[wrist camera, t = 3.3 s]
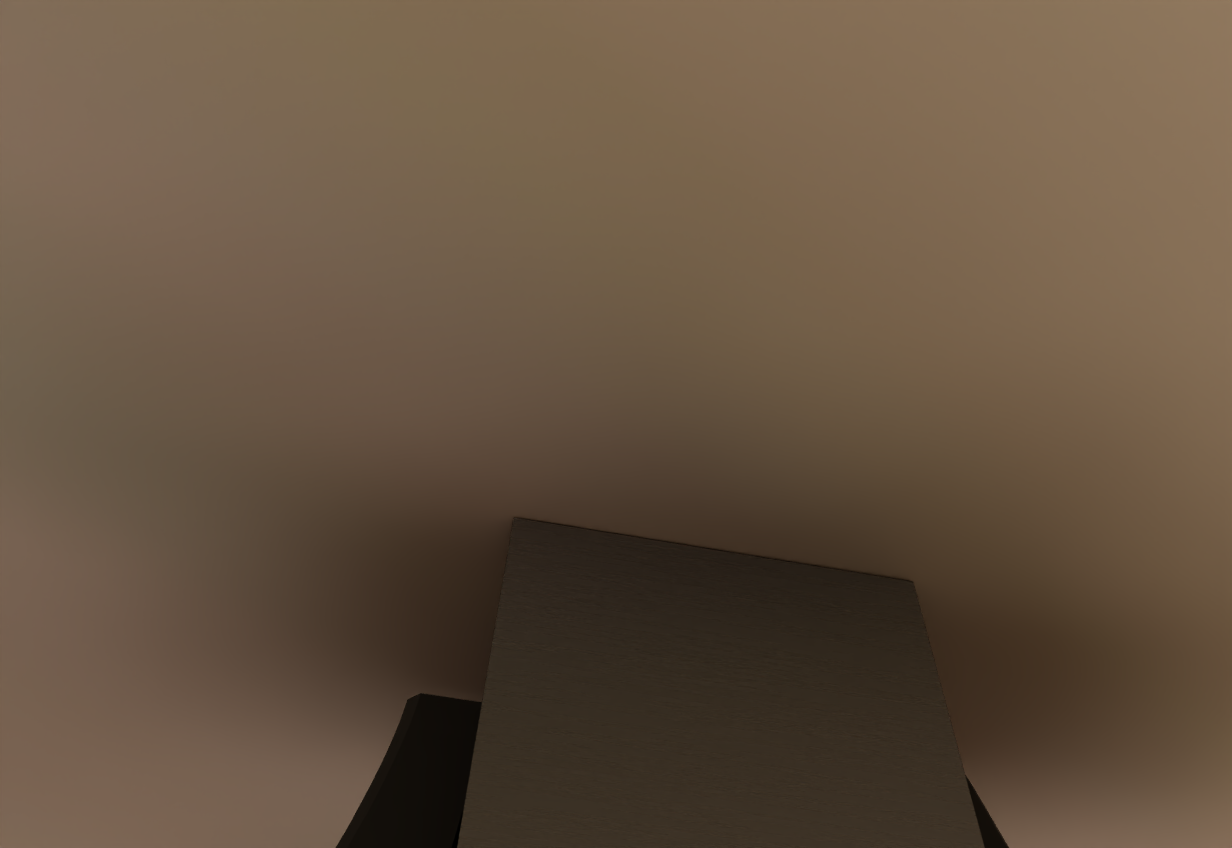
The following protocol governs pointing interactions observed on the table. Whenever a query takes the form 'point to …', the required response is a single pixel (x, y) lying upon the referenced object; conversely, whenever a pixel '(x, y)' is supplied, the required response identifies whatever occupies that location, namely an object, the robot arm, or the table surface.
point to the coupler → (707, 705)
